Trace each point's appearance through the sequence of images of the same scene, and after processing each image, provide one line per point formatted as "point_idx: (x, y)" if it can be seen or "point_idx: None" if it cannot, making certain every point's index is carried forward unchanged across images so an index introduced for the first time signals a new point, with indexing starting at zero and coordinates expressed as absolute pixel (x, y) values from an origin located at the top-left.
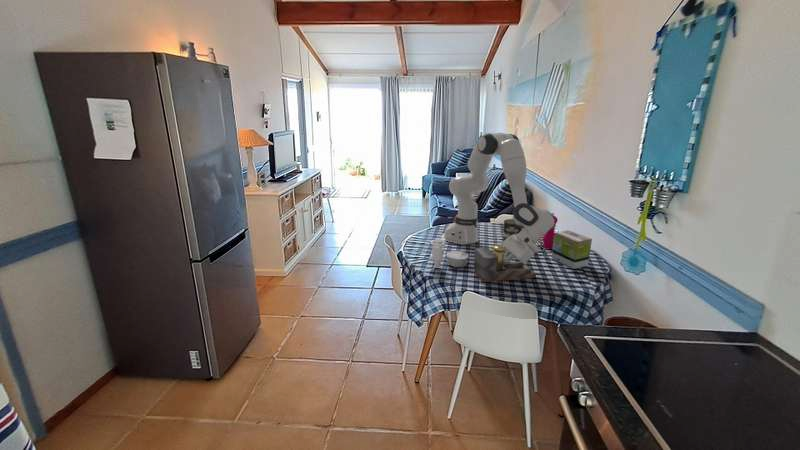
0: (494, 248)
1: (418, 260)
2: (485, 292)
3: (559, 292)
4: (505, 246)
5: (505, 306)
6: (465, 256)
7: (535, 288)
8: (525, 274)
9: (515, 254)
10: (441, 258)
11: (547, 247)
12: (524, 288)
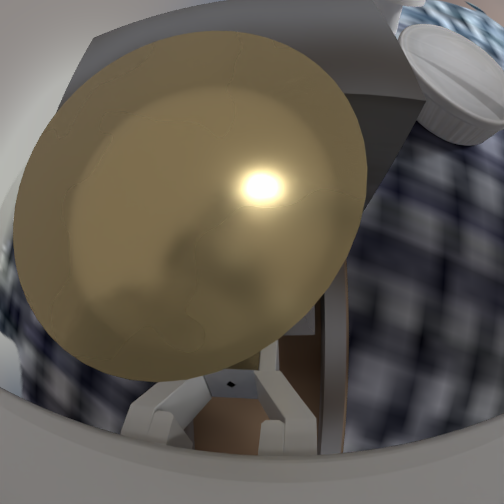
0: (124, 62)
1: (440, 14)
2: None
3: None
4: (438, 458)
5: (5, 204)
6: (467, 104)
7: (70, 417)
8: None
9: (24, 419)
10: None
11: None
12: (72, 364)
